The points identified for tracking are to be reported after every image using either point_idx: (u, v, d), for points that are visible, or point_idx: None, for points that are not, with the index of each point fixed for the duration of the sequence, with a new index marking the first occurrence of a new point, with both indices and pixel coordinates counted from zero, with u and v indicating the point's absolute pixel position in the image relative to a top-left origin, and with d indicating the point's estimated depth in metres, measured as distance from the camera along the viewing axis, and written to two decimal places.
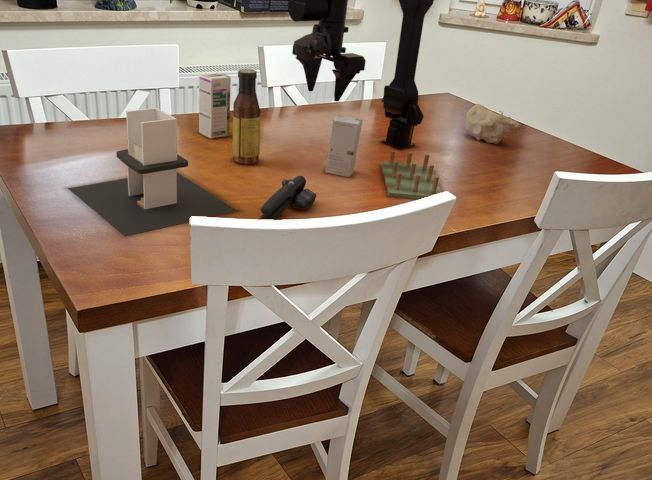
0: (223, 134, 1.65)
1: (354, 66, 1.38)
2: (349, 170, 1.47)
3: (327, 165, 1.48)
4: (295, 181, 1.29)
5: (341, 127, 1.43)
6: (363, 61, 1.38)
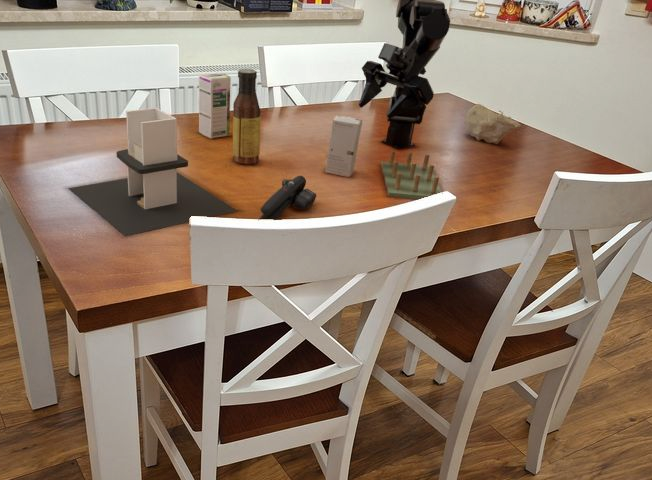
0: (223, 134, 1.65)
1: (426, 91, 1.41)
2: (349, 170, 1.47)
3: (327, 165, 1.48)
4: (295, 181, 1.29)
5: (341, 127, 1.43)
6: (432, 95, 1.43)
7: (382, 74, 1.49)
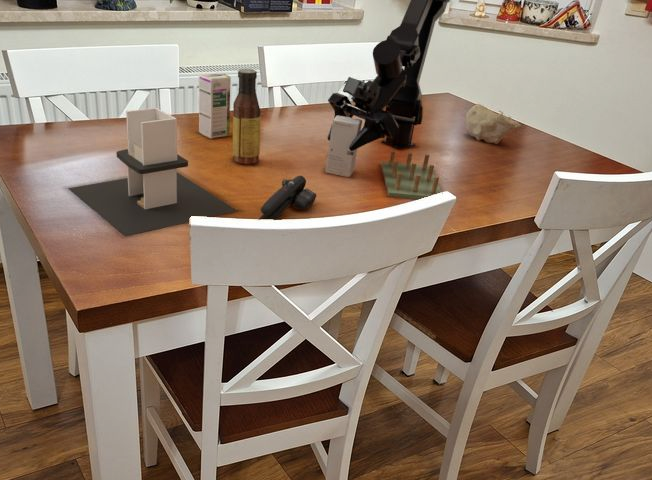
0: (223, 134, 1.65)
1: (390, 125, 1.39)
2: (349, 170, 1.47)
3: (327, 165, 1.48)
4: (295, 181, 1.29)
5: (341, 127, 1.43)
6: (397, 129, 1.41)
7: (348, 106, 1.48)
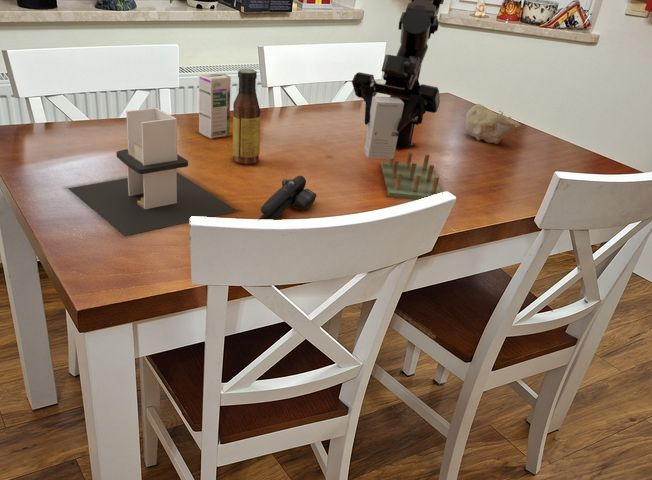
0: (223, 134, 1.65)
1: (437, 99, 1.36)
2: (393, 152, 1.42)
3: (370, 150, 1.41)
4: (295, 181, 1.29)
5: (386, 109, 1.36)
6: (439, 102, 1.38)
7: (376, 85, 1.40)
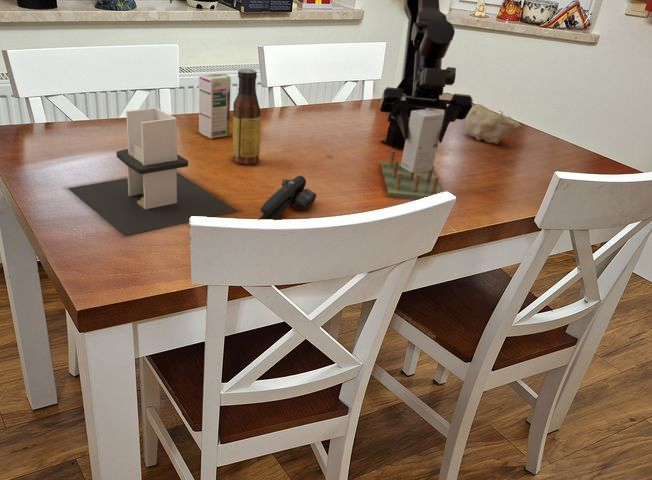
0: (223, 134, 1.65)
1: None
2: (433, 163, 1.42)
3: (415, 164, 1.39)
4: (295, 181, 1.29)
5: (430, 122, 1.35)
6: None
7: (406, 99, 1.39)
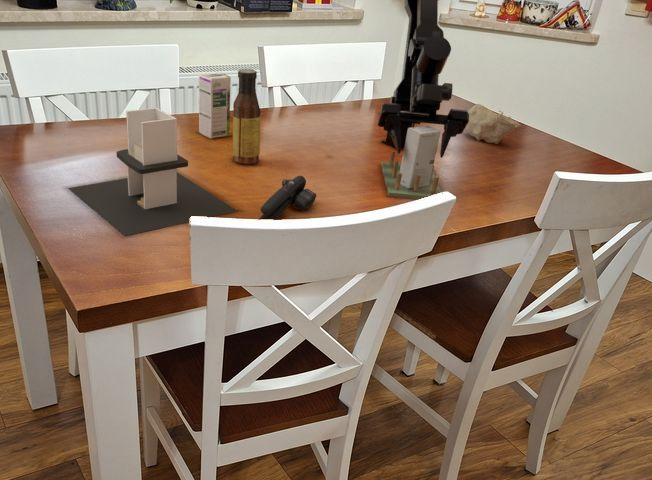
0: (223, 134, 1.65)
1: None
2: (429, 179, 1.44)
3: (412, 181, 1.41)
4: (295, 181, 1.29)
5: (427, 139, 1.37)
6: None
7: (404, 114, 1.40)
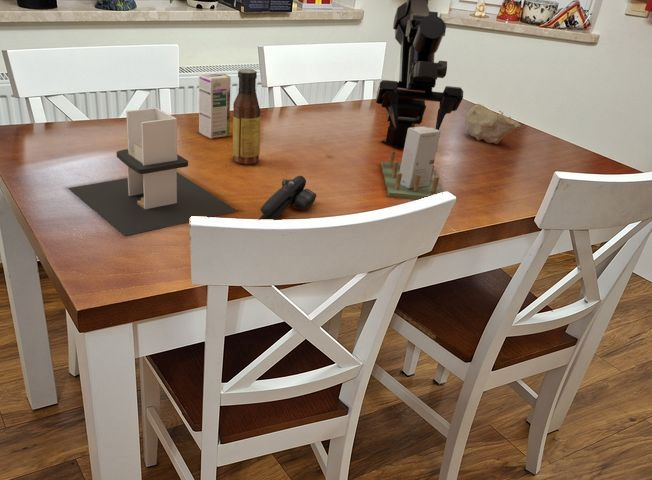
0: (223, 134, 1.65)
1: None
2: (429, 179, 1.44)
3: (412, 181, 1.41)
4: (295, 181, 1.29)
5: (427, 139, 1.37)
6: None
7: (401, 91, 1.47)
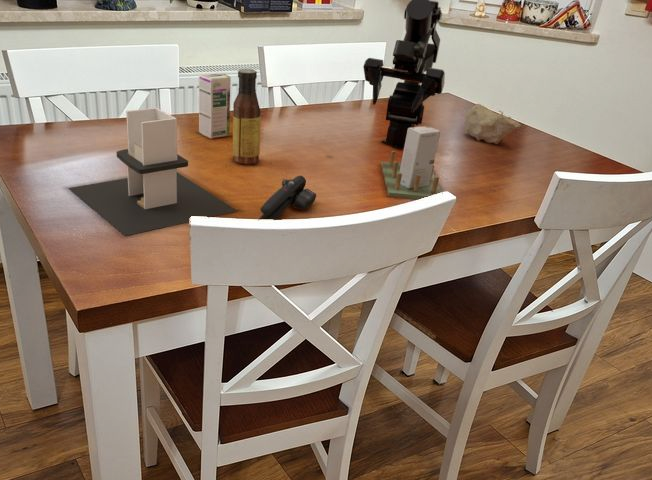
0: (223, 134, 1.65)
1: (443, 81, 1.49)
2: (429, 179, 1.44)
3: (412, 181, 1.41)
4: (295, 181, 1.29)
5: (426, 139, 1.37)
6: (443, 84, 1.52)
7: (386, 70, 1.53)
